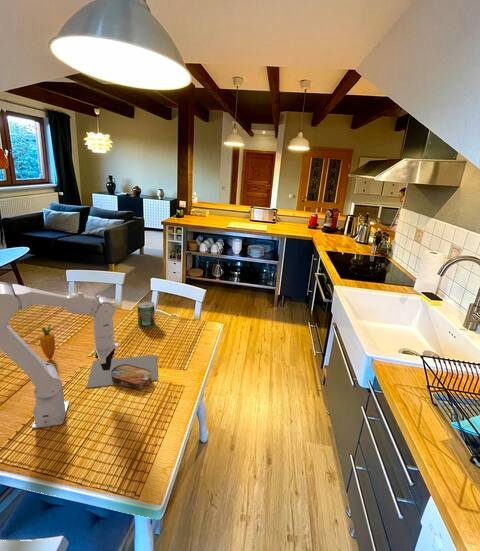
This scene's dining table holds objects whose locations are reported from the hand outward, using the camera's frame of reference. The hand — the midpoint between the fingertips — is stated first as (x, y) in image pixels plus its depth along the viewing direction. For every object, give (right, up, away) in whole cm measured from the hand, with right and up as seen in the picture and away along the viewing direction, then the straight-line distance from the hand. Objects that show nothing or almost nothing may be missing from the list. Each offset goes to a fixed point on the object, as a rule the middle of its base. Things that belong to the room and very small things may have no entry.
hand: (106, 369), depth 104 cm
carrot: (-30, -2, +17) cm, 34 cm away
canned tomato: (-1, +7, +48) cm, 49 cm away
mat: (+1, -5, +14) cm, 15 cm away
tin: (+4, -7, +5) cm, 10 cm away
